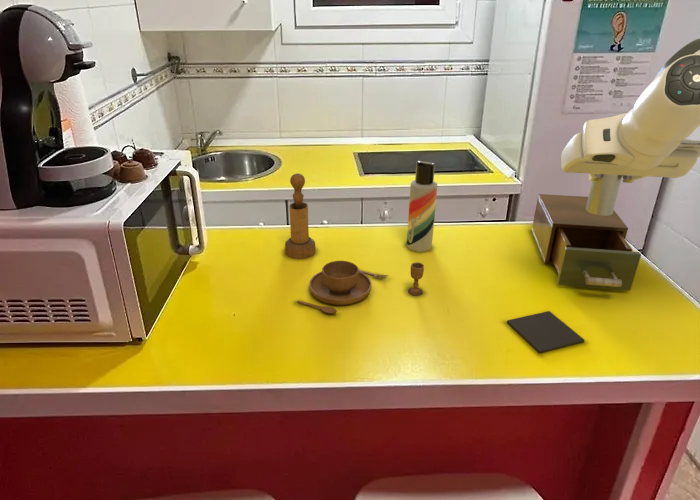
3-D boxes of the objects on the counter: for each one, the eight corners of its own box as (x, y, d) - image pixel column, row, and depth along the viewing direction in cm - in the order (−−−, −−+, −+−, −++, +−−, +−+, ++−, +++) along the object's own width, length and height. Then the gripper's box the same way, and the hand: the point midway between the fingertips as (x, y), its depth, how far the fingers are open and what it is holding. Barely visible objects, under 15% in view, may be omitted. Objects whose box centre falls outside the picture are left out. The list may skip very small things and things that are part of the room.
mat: (548, 313, 94) (549, 310, 94) (584, 342, 86) (584, 339, 86) (506, 323, 91) (506, 320, 91) (539, 354, 84) (539, 351, 84)
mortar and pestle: (290, 261, 110) (286, 181, 102) (281, 248, 116) (276, 171, 107) (319, 255, 113) (318, 177, 105) (309, 243, 118) (307, 167, 110)
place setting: (338, 263, 110) (338, 238, 107) (426, 289, 101) (428, 263, 98) (289, 303, 96) (287, 275, 93) (385, 336, 87) (387, 307, 85)
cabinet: (616, 269, 109) (628, 228, 104) (544, 264, 110) (553, 223, 106) (594, 235, 123) (604, 197, 119) (531, 231, 125) (538, 193, 120)
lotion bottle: (401, 246, 117) (406, 160, 108) (417, 238, 121) (424, 155, 111) (420, 255, 114) (427, 167, 104) (436, 247, 117) (445, 161, 108)
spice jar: (599, 204, 102) (613, 150, 97) (619, 214, 98) (634, 157, 93) (579, 207, 100) (591, 152, 96) (598, 217, 96) (612, 160, 91)
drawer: (638, 302, 96) (649, 265, 92) (562, 296, 97) (571, 260, 94) (606, 253, 113) (615, 220, 110) (543, 248, 115) (549, 216, 111)
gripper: (712, 125, 81) (669, 165, 94) (575, 120, 84) (552, 160, 97) (716, 161, 79) (671, 197, 93) (576, 155, 82) (552, 191, 95)
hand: (609, 178), depth 95 cm, fingers closed on spice jar, 4 cm apart
